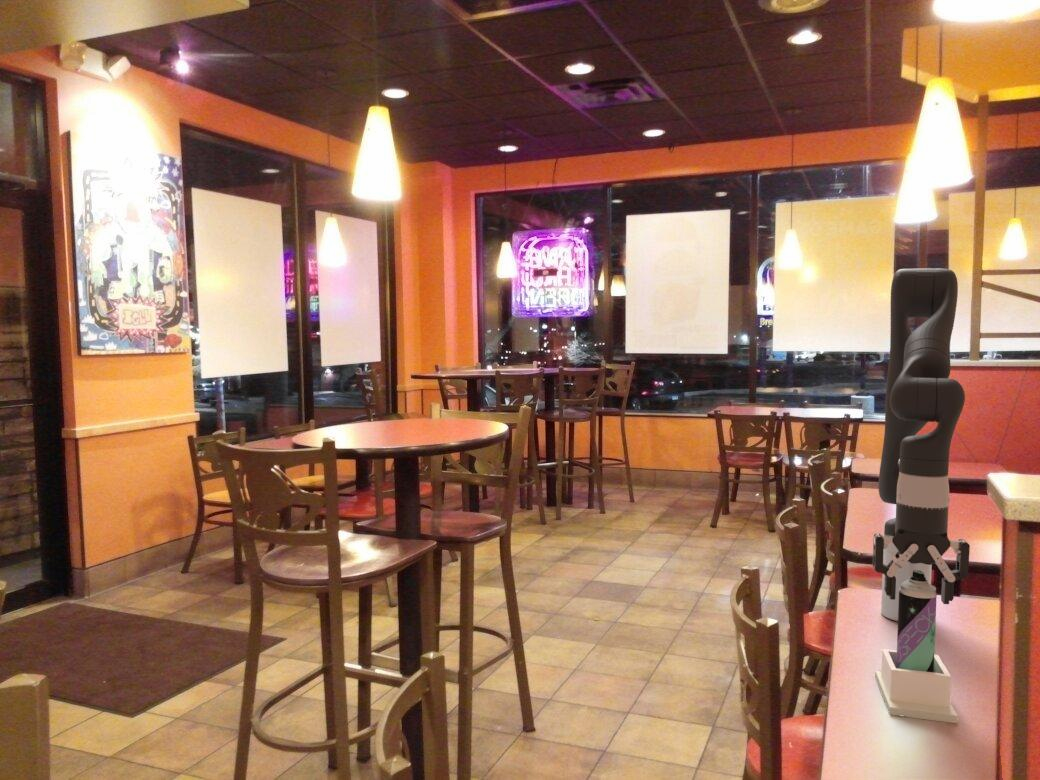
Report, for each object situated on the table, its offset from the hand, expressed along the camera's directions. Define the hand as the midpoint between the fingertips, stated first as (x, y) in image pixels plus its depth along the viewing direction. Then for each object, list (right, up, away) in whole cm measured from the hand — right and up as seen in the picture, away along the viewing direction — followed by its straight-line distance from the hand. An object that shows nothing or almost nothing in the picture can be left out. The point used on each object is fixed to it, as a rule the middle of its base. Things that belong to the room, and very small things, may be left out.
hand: (917, 600), depth 127 cm
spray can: (0, -16, +1) cm, 16 cm away
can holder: (0, -17, +1) cm, 17 cm away
